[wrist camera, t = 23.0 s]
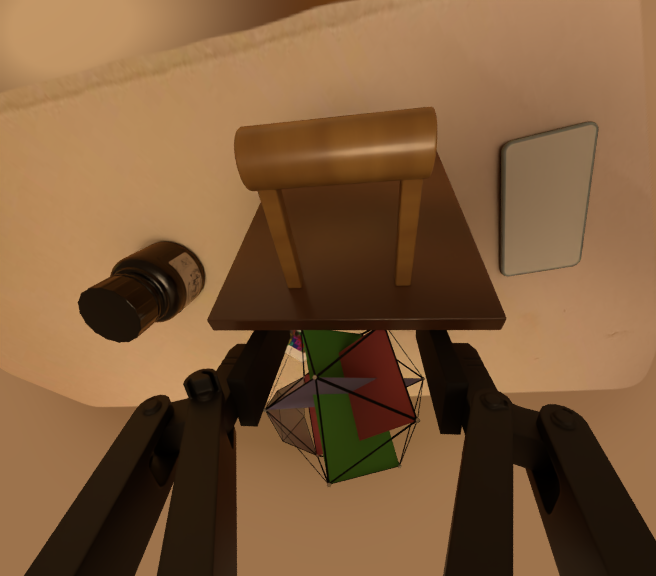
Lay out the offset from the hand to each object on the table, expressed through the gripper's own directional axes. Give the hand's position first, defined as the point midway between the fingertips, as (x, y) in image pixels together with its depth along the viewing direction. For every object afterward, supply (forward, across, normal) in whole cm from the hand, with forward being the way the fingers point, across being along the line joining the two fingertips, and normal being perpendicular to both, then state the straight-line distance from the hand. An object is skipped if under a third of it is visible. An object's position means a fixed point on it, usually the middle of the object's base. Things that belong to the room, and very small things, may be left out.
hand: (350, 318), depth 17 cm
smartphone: (+20, +20, +1) cm, 29 cm away
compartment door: (+4, 0, +5) cm, 6 cm away
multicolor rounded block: (+21, -10, -16) cm, 28 cm away
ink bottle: (+21, -26, -5) cm, 33 cm away
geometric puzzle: (-2, 0, +1) cm, 2 cm away
